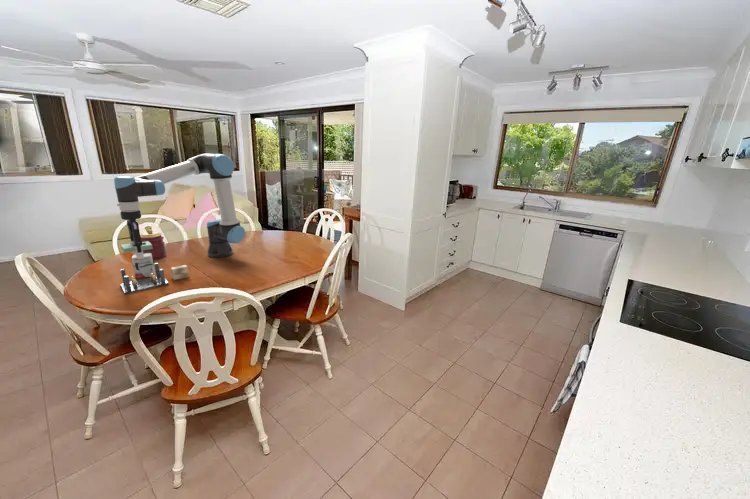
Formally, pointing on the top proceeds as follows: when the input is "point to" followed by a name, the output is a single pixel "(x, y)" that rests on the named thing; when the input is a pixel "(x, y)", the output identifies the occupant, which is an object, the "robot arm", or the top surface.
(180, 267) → the block
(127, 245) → the board
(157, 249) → the canister
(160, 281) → the chassis
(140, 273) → the ink box
